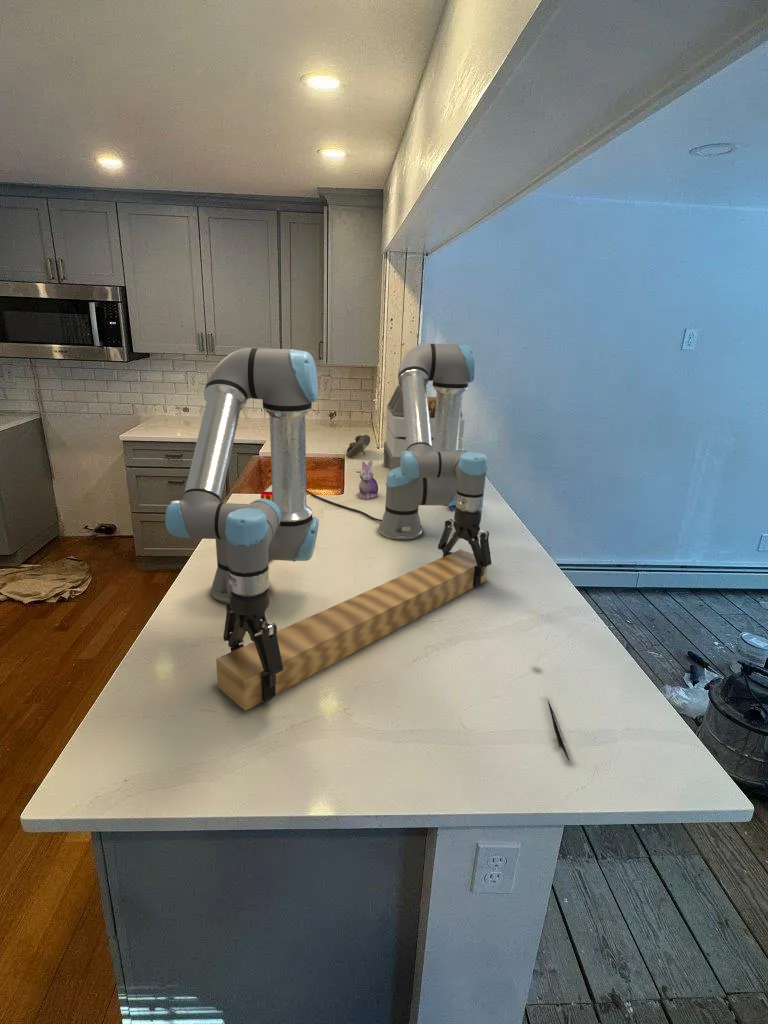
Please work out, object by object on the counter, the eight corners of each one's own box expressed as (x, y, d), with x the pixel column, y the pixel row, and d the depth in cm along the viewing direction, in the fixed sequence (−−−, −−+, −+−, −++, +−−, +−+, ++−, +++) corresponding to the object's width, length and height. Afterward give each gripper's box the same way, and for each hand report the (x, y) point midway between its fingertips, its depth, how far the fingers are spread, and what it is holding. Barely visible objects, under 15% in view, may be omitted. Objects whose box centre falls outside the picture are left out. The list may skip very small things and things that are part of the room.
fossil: (346, 440, 314) (367, 425, 309) (357, 454, 317) (378, 439, 312) (340, 454, 295) (362, 438, 290) (351, 468, 298) (374, 453, 293)
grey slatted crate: (382, 463, 289) (386, 382, 275) (445, 464, 293) (451, 384, 279) (390, 482, 257) (394, 392, 243) (460, 483, 261) (468, 394, 247)
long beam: (458, 570, 174) (460, 549, 172) (485, 581, 168) (488, 559, 165) (217, 687, 116) (215, 658, 114) (245, 711, 110) (244, 681, 108)
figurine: (363, 500, 232) (364, 465, 227) (352, 493, 240) (353, 459, 235) (383, 498, 236) (385, 463, 231) (372, 491, 244) (373, 457, 239)
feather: (537, 674, 127) (543, 668, 127) (569, 765, 101) (576, 758, 100) (531, 670, 127) (536, 664, 126) (561, 760, 100) (568, 753, 100)
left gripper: (201, 574, 114) (208, 668, 121) (268, 618, 99) (271, 721, 107) (233, 564, 119) (238, 654, 126) (301, 603, 105) (302, 702, 112)
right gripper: (428, 500, 164) (423, 570, 171) (495, 522, 149) (486, 597, 157) (444, 495, 169) (439, 563, 177) (510, 516, 155) (501, 588, 162)
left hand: (253, 685), depth 117 cm, fingers closed on long beam, 10 cm apart
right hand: (461, 579), depth 167 cm, fingers closed on long beam, 10 cm apart
